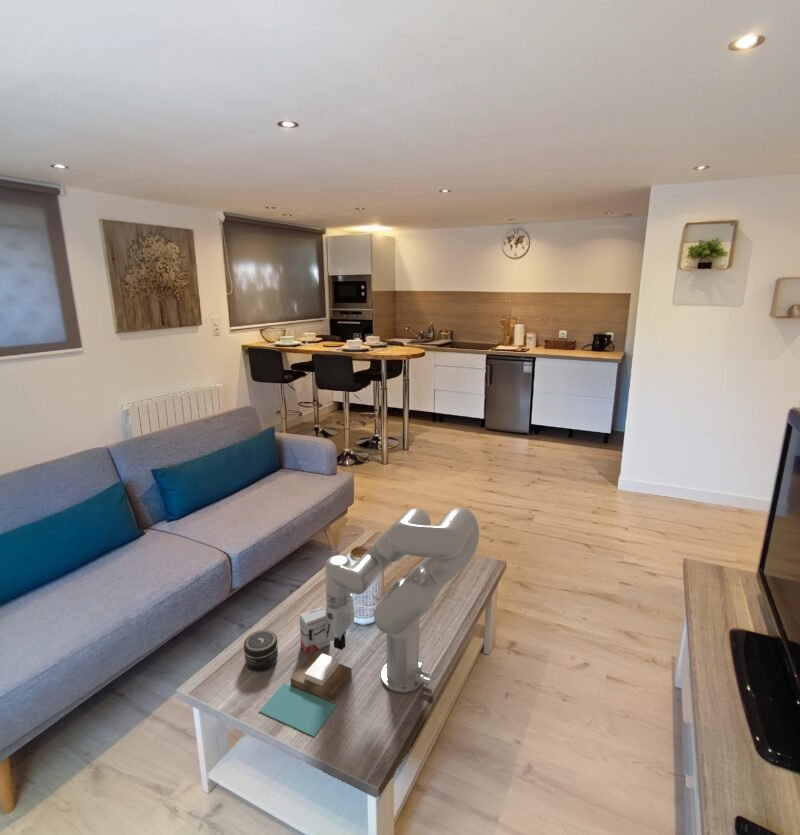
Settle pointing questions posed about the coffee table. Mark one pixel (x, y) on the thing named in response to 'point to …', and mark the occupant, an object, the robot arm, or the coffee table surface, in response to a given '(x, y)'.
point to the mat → (298, 709)
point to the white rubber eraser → (321, 669)
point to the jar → (261, 650)
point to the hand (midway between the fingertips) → (339, 647)
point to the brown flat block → (330, 685)
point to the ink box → (313, 630)
